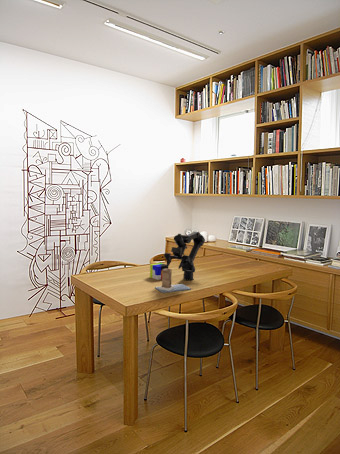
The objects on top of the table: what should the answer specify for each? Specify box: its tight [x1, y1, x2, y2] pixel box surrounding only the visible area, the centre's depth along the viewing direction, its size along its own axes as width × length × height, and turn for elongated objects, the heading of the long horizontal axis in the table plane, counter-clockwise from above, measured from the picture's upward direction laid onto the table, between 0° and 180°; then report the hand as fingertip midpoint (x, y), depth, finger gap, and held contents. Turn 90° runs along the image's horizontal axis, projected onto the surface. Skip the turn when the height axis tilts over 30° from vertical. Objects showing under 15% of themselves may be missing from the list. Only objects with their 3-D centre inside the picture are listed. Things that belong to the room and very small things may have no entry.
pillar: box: [161, 268, 172, 288], centre depth 224 cm, size 4×4×13 cm
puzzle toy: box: [149, 262, 169, 281], centre depth 257 cm, size 10×10×10 cm
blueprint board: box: [154, 283, 192, 294], centre depth 227 cm, size 21×12×2 cm, turn 117°
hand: (172, 267), depth 230 cm, fingers open, 9 cm apart
